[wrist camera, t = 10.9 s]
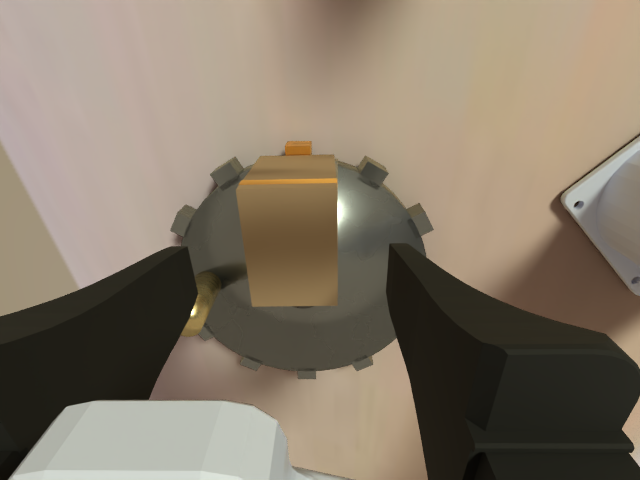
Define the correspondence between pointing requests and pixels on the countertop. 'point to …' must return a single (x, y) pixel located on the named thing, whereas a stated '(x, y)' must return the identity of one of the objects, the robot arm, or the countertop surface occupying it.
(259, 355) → the sprocket
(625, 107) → the countertop surface
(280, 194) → the link block
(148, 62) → the countertop surface
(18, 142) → the countertop surface
